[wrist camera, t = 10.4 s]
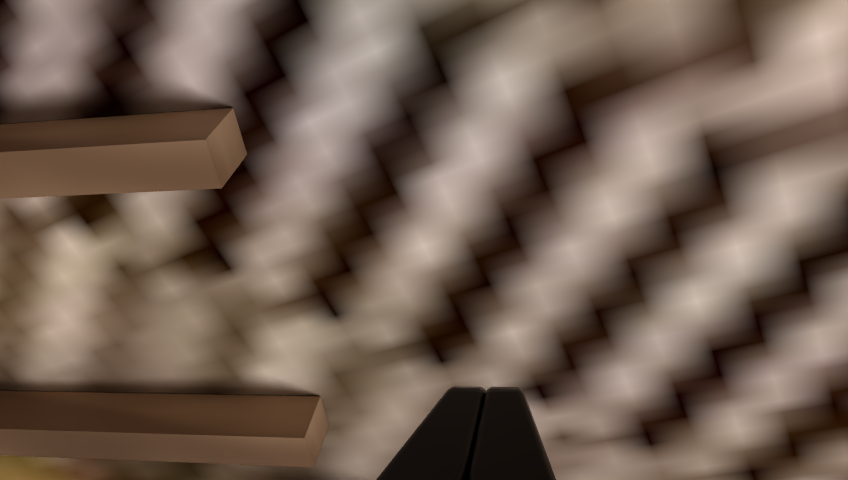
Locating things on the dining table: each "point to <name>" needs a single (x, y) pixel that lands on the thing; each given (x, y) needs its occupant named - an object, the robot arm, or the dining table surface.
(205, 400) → the pair of brown bars
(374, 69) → the dining table surface
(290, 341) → the dining table surface
